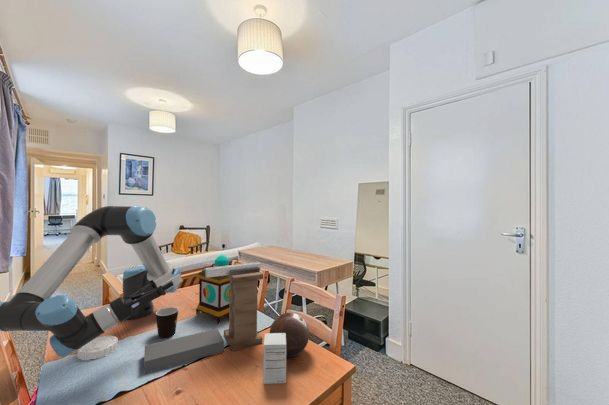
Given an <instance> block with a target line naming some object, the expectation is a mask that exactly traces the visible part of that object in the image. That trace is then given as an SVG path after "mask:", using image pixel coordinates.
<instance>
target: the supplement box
mask: <svg viewBox="0 0 609 405" xmlns="http://www.w3.org/2000/svg"><path fill="white" fill-rule="evenodd" d="M262 367H263V380H262V382H263V384H264V385H271V384H272V385H273V384H286V383H287V357H286V333H270V332H269V333H264V338H263V366H262Z"/></svg>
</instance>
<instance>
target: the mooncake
mask: <svg viewBox="0 0 609 405" xmlns="http://www.w3.org/2000/svg"><path fill="white" fill-rule="evenodd" d="M117 347H118V348H119V338H118V337H117V336H115V335H104V336H103V335H102V336H101V335H100V336H98V337H97V338H95V339H94V340H92V341H90V342H89V343H87V344H86V345H84V346H83V347H81V348H80V349H79V350H77V353H76V354H77V356H76V357H77V358H78V357H79V358H78V360H79V359H81V361H83V360H84V361H86V360H89V361H91V360H90V359H95V360H97V359H101V358H100V357H102V356H103V357H106V356H105V355H107V356H109V355H110V354H109V353H111V354H113V352H115V351H116V350H117V349H118V348H117ZM114 350H115V351H114ZM103 357H102V358H103ZM96 358H97V359H96Z"/></svg>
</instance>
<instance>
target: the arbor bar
mask: <svg viewBox="0 0 609 405" xmlns="http://www.w3.org/2000/svg"><path fill="white" fill-rule="evenodd" d="M251 268H260V272H261V270H262V263H261V262H259V261H257V262H256V261H255V262H248V263H239V264H232V265H228V266H219V267H211V268H209V267H206V268H205V267H204V270H205V276H206V278H208V277H216V276H223V275H230V271H235V270H243V269H251Z"/></svg>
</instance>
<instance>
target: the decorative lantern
mask: <svg viewBox="0 0 609 405" xmlns="http://www.w3.org/2000/svg"><path fill="white" fill-rule="evenodd" d="M229 260H230V259H229V258H228V257H227V256H226V255H224V254H219V255H218V256H217V257H216V258H215V259H214V263H213V264H211V266H209V267H208V268H211V267H219V266H228V265H233V264H232V263H230V261H229ZM196 275H197V278H198V279H199V288H198V289H199V295H198V296H199V297H198V298H199V300H198V305H197V306H196V309H195V314H196V316H199V315H200V314H201V313H204V314H206V315H209V316H211V317H213V318H216V321H217V322H216V323H217V324H219V323H220V324H221V321H222V318H223V317H225V316H227V315H228V316H229V295H230V279H229V278H228V277H227V276H226V275H223V276H216V277H208V278H206V276H205V269H202V270H201V271H199V272H198V273H197V274H196Z"/></svg>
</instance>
